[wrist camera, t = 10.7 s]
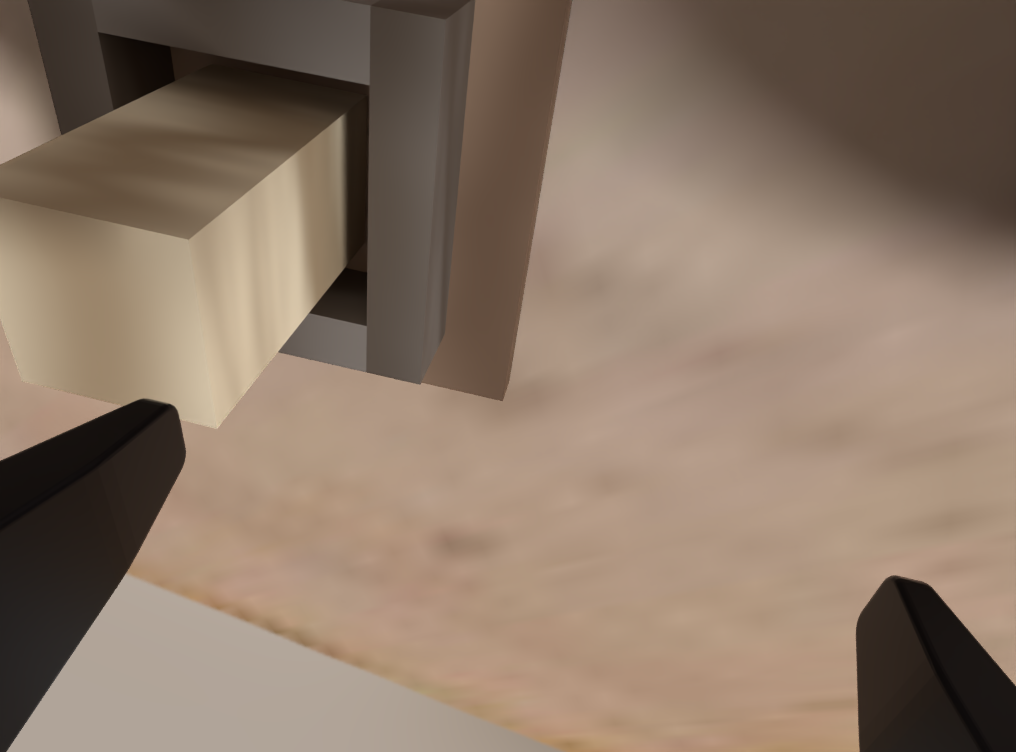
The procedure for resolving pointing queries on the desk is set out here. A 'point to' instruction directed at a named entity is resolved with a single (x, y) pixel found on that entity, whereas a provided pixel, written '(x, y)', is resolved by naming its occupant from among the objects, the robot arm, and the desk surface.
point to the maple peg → (180, 238)
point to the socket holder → (372, 150)
